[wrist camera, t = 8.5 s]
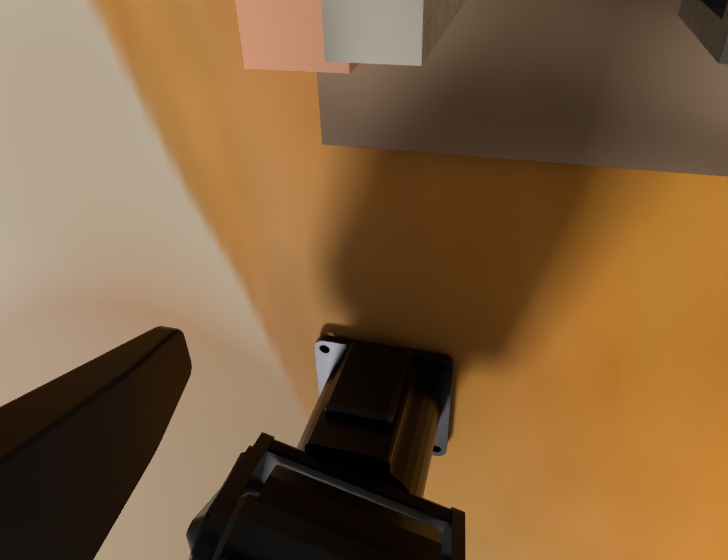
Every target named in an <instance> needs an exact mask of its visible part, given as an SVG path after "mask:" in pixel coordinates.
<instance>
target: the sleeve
mask: <svg viewBox="0 0 728 560" xmlns="http://www.w3.org/2000/svg"><path fill="white" fill-rule="evenodd" d="M678 16H679V17H680V18H681V20H682V21H683V22H684V23H685V24H686V26H687V27H688V28H689V29H690V30H691V32H692V33H693V34H694V35H695V36H696V37H697V39H698V40H699V41H700V42H701V43H702V45H703V46H704V47H705V48H706V49H707V51H708V52H709V53H710V54H711V55H712V57H713V58H714V59H715V60H716V61H717V62H718V64H728V0H682V2H681V5H680V9H679V13H678Z"/></svg>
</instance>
